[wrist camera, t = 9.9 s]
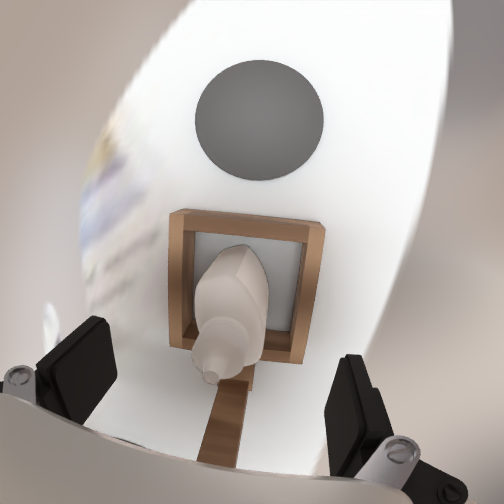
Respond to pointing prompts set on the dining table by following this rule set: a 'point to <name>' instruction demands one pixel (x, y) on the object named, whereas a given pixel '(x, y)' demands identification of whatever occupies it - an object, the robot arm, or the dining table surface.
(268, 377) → the dining table surface
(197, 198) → the dining table surface
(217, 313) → the eye dropper bottle
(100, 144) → the dining table surface
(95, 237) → the dining table surface
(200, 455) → the wooden frame with post
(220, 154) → the mat
